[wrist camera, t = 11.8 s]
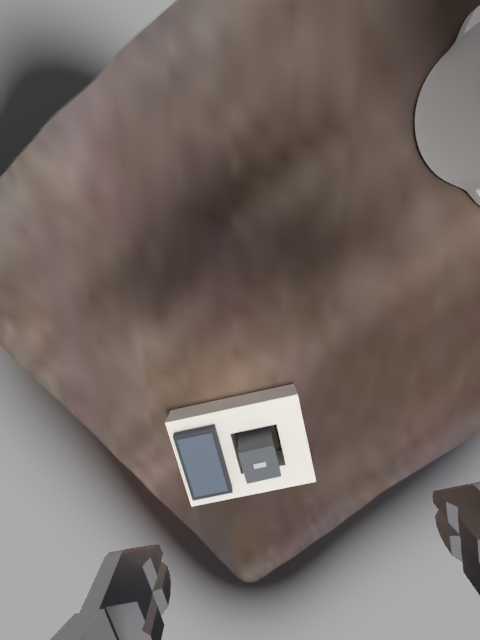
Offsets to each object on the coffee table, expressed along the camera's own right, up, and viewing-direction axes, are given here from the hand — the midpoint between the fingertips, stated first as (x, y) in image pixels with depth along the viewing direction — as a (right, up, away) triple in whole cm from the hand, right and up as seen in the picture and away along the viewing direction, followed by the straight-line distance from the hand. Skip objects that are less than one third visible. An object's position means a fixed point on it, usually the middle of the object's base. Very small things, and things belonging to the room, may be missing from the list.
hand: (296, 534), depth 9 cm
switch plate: (-1, -9, +32) cm, 33 cm away
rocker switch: (+1, -9, +32) cm, 33 cm away
